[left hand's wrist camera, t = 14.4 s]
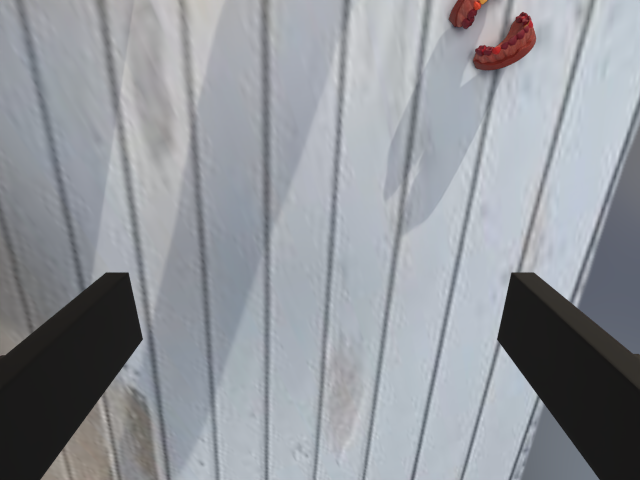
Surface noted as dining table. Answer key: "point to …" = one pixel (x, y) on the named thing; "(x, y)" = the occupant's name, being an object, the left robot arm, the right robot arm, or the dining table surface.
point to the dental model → (507, 51)
